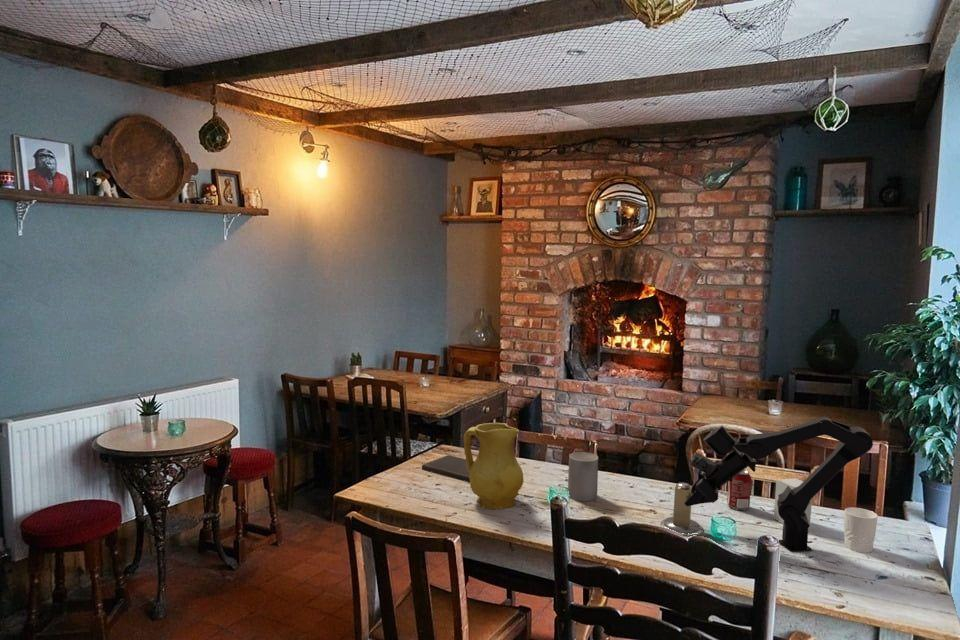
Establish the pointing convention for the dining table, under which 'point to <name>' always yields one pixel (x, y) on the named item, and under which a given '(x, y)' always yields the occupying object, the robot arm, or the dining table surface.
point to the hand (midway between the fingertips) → (686, 499)
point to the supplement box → (780, 488)
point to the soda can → (739, 491)
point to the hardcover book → (449, 467)
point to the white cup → (859, 529)
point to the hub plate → (692, 528)
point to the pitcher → (494, 465)
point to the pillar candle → (583, 476)
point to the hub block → (682, 505)
